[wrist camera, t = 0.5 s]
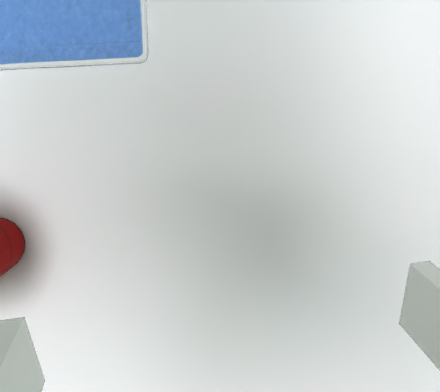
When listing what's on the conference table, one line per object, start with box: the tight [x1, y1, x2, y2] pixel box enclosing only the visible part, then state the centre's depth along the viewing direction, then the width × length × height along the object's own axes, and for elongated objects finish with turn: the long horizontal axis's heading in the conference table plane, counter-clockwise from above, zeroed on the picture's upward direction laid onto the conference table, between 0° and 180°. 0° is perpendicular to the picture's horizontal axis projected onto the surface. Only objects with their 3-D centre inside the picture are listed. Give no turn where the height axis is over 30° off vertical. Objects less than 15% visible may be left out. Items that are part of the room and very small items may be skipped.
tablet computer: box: [0, 0, 148, 70], centre depth 37 cm, size 19×13×1 cm, turn 92°
